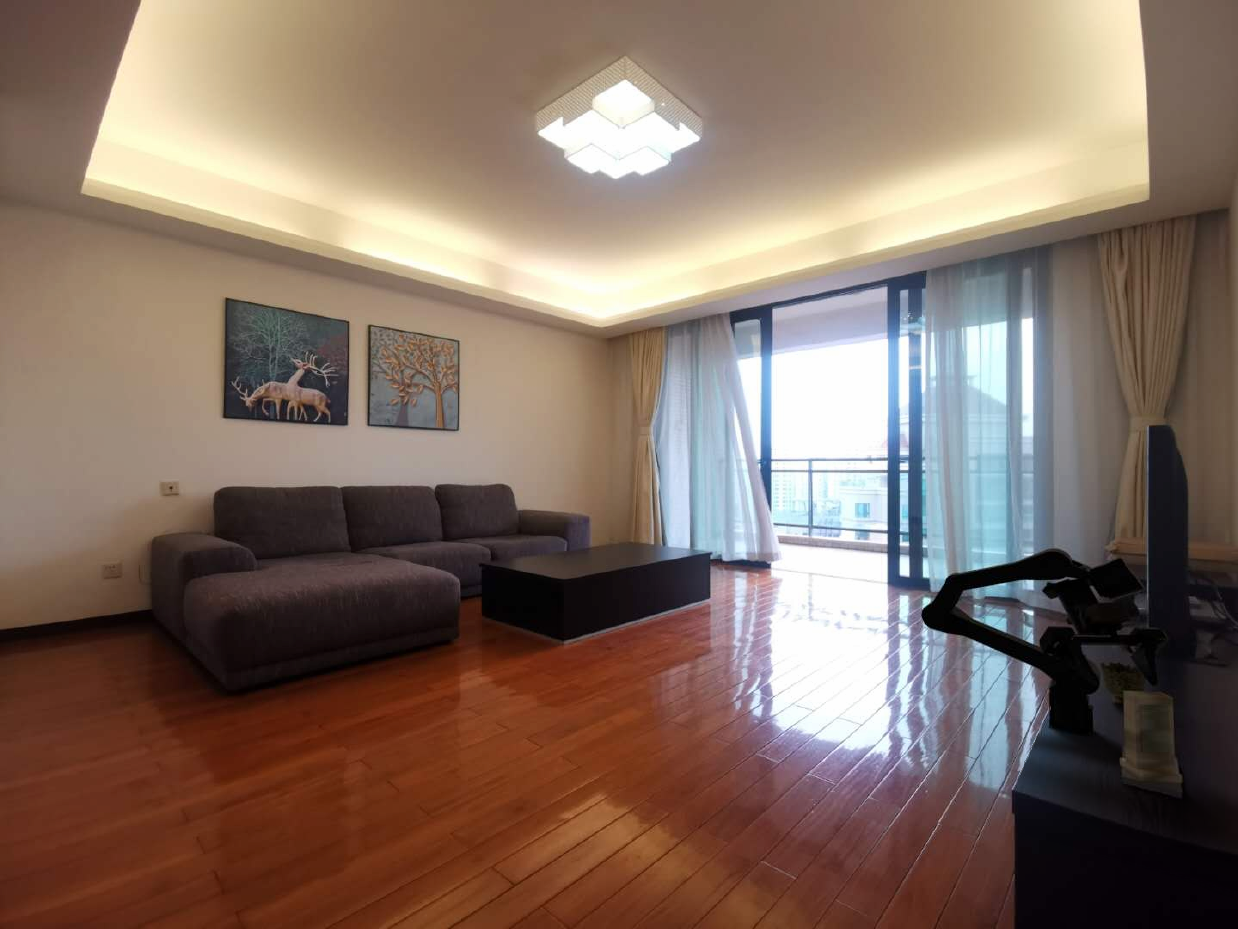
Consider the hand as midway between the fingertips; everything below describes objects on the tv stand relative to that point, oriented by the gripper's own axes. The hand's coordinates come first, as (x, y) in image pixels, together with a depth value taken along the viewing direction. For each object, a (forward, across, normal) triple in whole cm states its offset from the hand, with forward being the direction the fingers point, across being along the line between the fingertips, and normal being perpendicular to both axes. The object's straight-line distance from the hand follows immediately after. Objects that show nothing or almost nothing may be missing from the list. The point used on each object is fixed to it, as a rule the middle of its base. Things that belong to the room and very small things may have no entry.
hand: (1125, 684), depth 100 cm
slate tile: (+12, +1, +7) cm, 14 cm away
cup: (-11, +16, +30) cm, 36 cm away
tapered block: (+13, -1, +4) cm, 14 cm away
